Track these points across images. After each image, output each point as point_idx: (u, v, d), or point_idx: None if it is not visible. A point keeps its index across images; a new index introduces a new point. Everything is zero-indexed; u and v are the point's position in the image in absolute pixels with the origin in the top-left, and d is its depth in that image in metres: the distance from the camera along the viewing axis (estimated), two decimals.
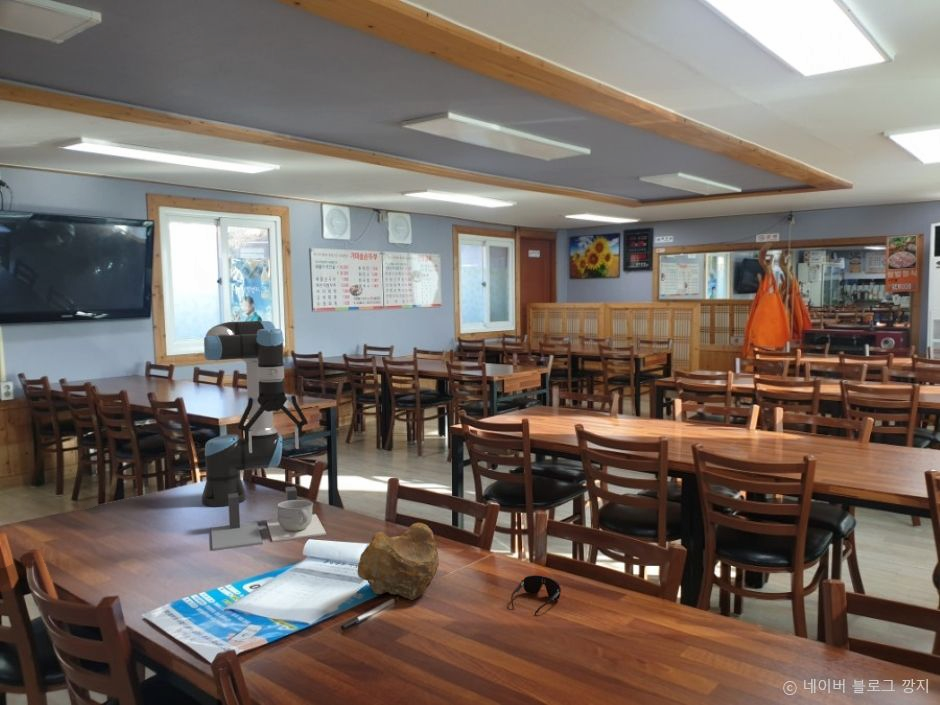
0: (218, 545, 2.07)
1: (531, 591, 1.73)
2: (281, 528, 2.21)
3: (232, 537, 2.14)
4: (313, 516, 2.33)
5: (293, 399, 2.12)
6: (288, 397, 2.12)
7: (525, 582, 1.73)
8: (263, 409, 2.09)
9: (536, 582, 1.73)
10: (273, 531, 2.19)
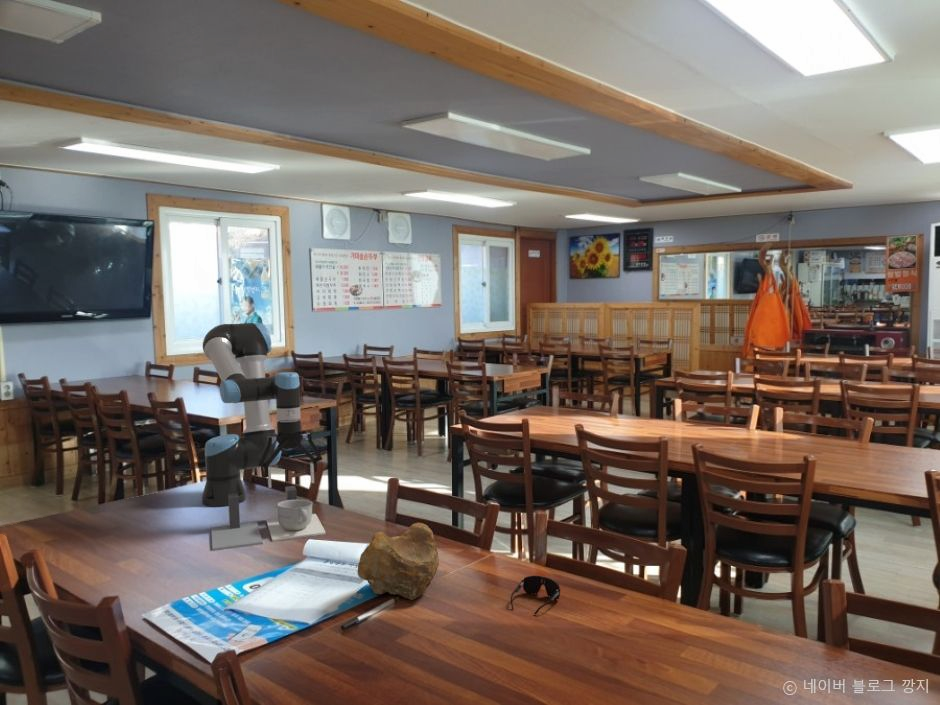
0: (218, 545, 2.07)
1: (530, 591, 1.73)
2: (281, 527, 2.22)
3: (232, 537, 2.14)
4: (313, 516, 2.33)
5: (309, 437, 2.29)
6: (304, 435, 2.30)
7: (524, 582, 1.73)
8: (281, 447, 2.26)
9: (535, 583, 1.73)
10: (273, 530, 2.19)
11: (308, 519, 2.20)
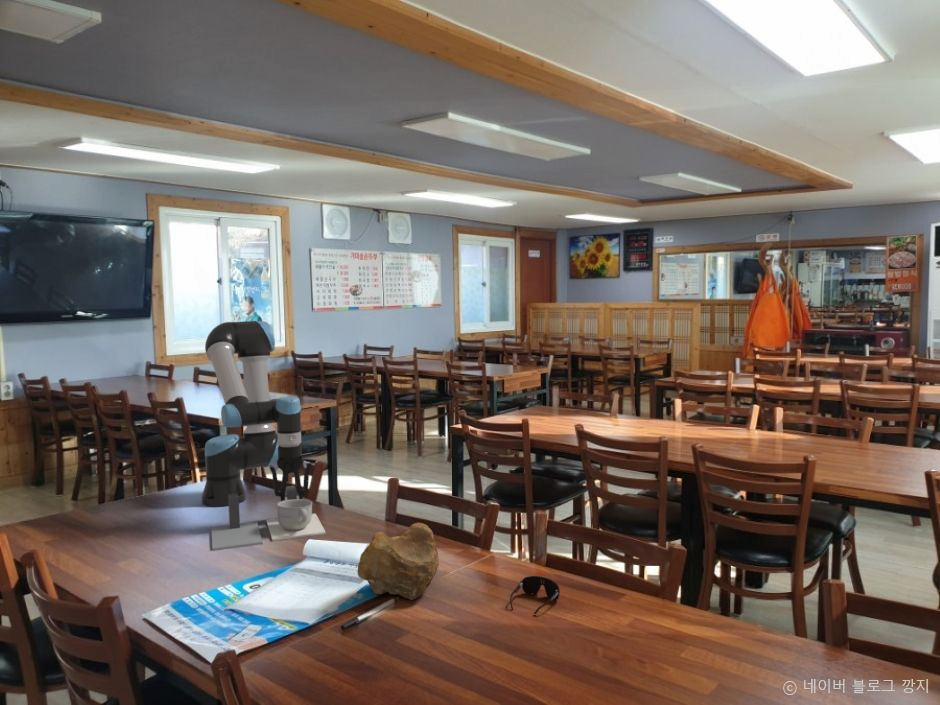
0: (218, 545, 2.07)
1: (530, 592, 1.73)
2: (281, 527, 2.22)
3: (232, 537, 2.14)
4: (313, 515, 2.34)
5: (308, 466, 2.30)
6: (305, 462, 2.30)
7: (524, 583, 1.73)
8: (286, 473, 2.27)
9: (535, 583, 1.73)
10: (273, 530, 2.19)
11: (308, 519, 2.20)
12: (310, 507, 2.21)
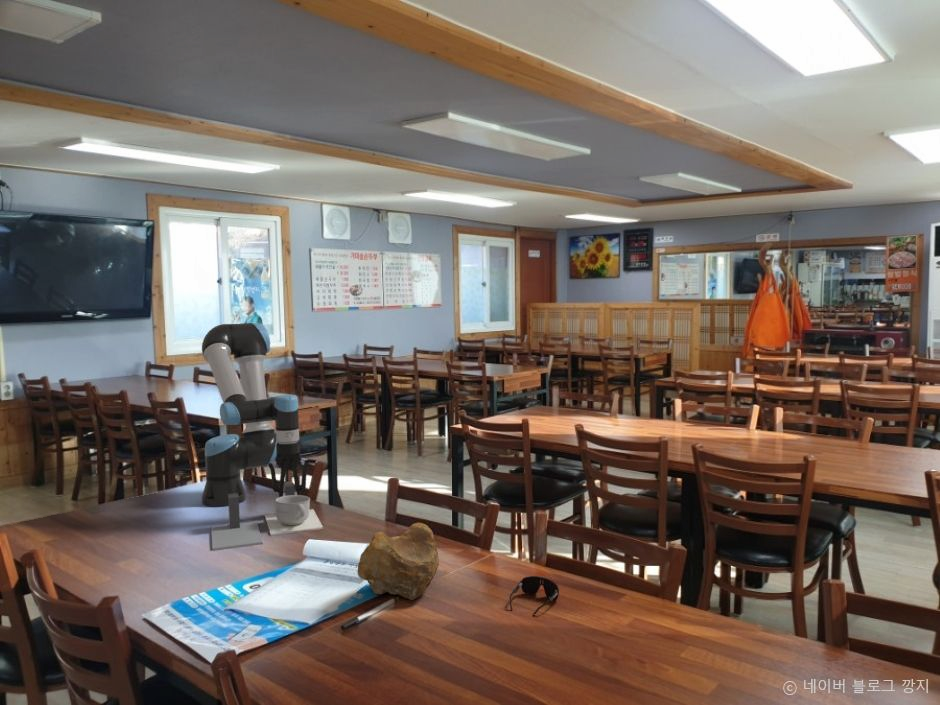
0: (218, 545, 2.07)
1: (529, 592, 1.73)
2: (279, 522, 2.27)
3: (232, 537, 2.14)
4: (310, 511, 2.38)
5: (305, 463, 2.35)
6: (302, 459, 2.35)
7: (523, 583, 1.73)
8: (284, 469, 2.32)
9: (534, 583, 1.72)
10: (271, 525, 2.24)
11: (306, 514, 2.25)
12: (308, 503, 2.26)
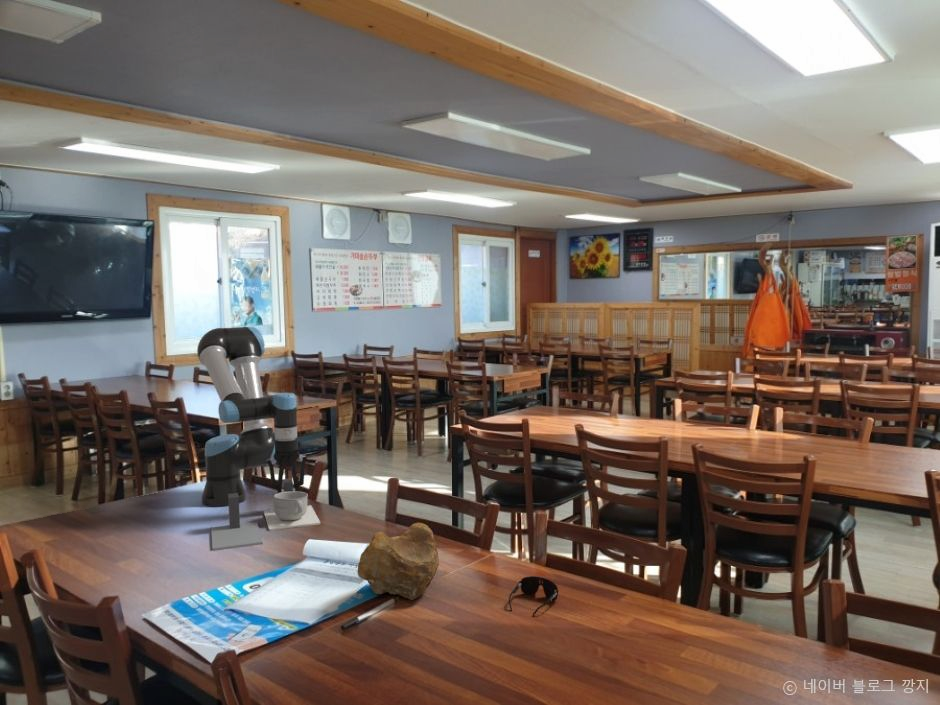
0: (218, 545, 2.07)
1: (528, 592, 1.73)
2: (277, 518, 2.31)
3: (232, 537, 2.14)
4: (308, 507, 2.43)
5: (303, 460, 2.39)
6: (300, 456, 2.40)
7: (522, 583, 1.73)
8: (283, 466, 2.36)
9: (533, 583, 1.72)
10: (270, 521, 2.29)
11: (303, 510, 2.29)
12: (305, 499, 2.30)
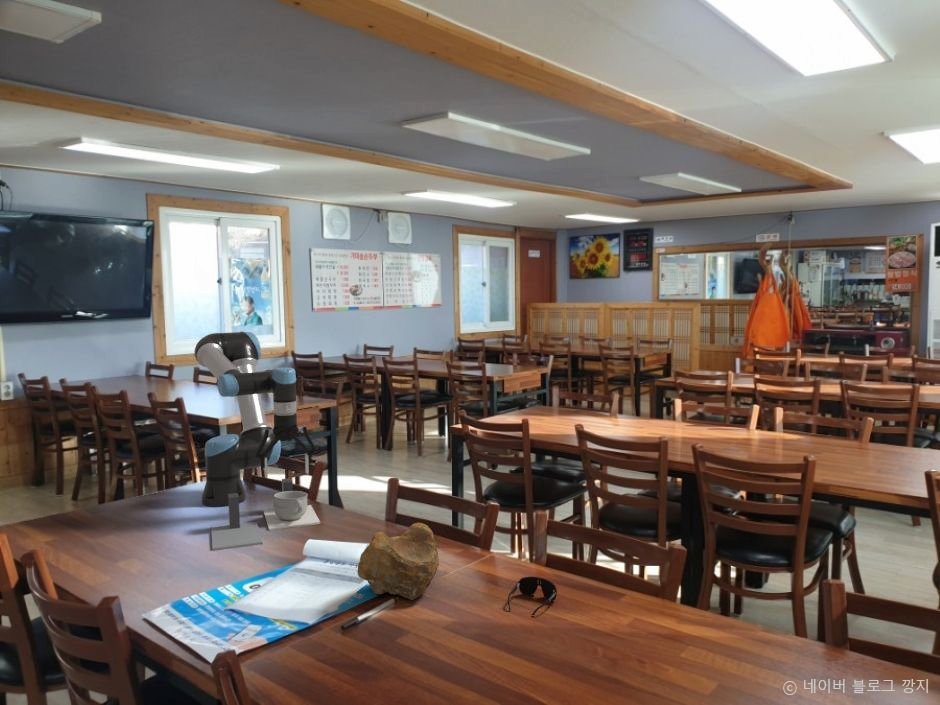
0: (218, 545, 2.07)
1: (527, 592, 1.72)
2: (277, 518, 2.32)
3: (232, 537, 2.14)
4: (308, 507, 2.43)
5: (304, 430, 2.39)
6: (300, 428, 2.39)
7: (521, 583, 1.73)
8: (278, 439, 2.35)
9: (531, 584, 1.72)
10: (270, 520, 2.29)
11: (303, 509, 2.30)
12: (305, 498, 2.31)
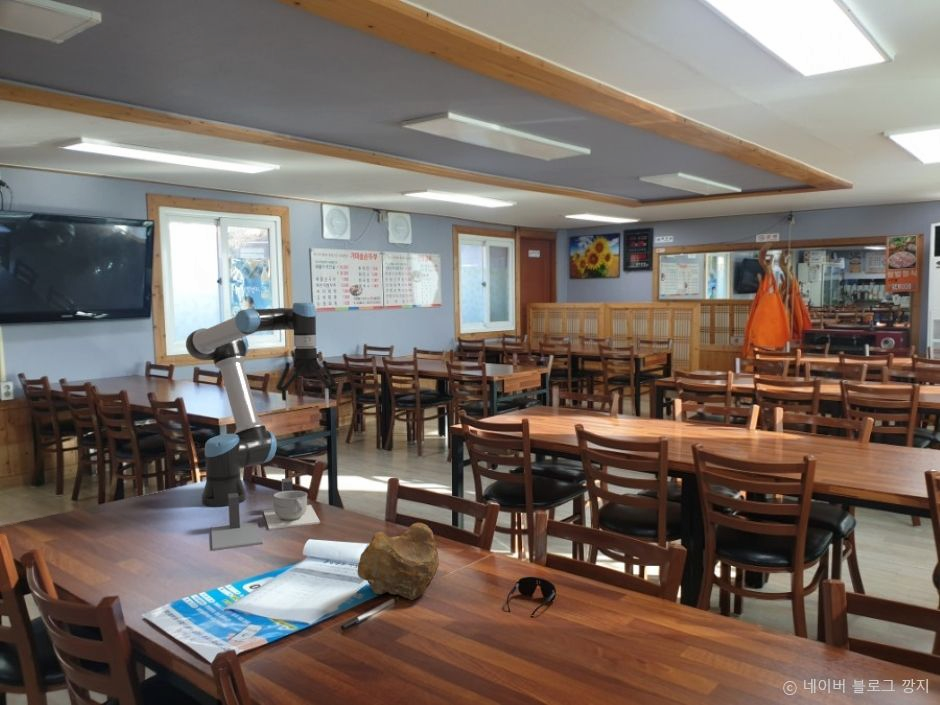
0: (218, 545, 2.07)
1: (526, 593, 1.72)
2: (277, 517, 2.32)
3: (232, 537, 2.14)
4: (308, 506, 2.44)
5: (324, 364, 2.43)
6: (320, 362, 2.43)
7: (520, 584, 1.72)
8: (298, 372, 2.39)
9: (530, 584, 1.72)
10: (269, 520, 2.29)
11: (303, 509, 2.30)
12: (305, 498, 2.31)
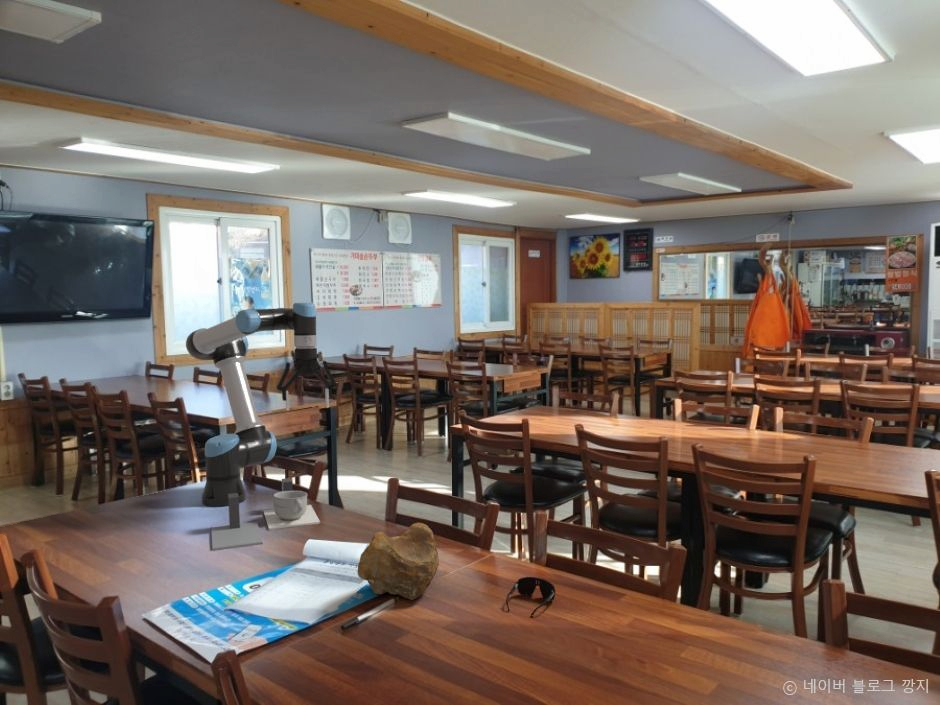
0: (218, 545, 2.07)
1: (525, 593, 1.72)
2: (277, 517, 2.32)
3: (232, 537, 2.14)
4: (308, 506, 2.44)
5: (324, 364, 2.43)
6: (320, 362, 2.43)
7: (519, 584, 1.72)
8: (299, 372, 2.40)
9: (530, 584, 1.72)
10: (269, 520, 2.29)
11: (303, 509, 2.30)
12: (305, 498, 2.31)
